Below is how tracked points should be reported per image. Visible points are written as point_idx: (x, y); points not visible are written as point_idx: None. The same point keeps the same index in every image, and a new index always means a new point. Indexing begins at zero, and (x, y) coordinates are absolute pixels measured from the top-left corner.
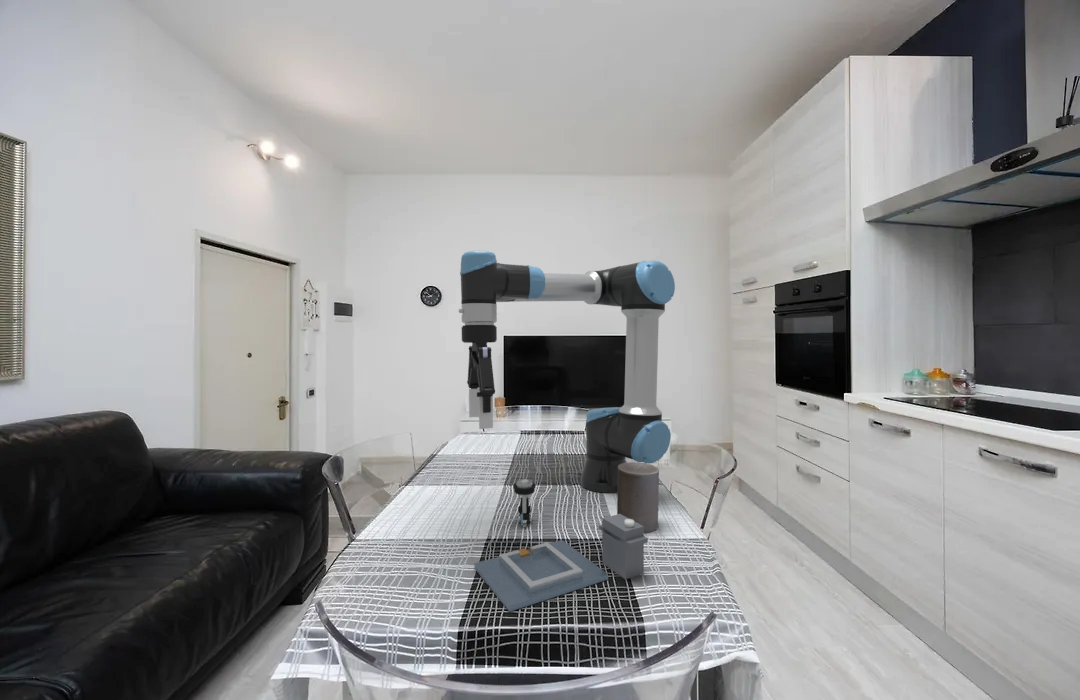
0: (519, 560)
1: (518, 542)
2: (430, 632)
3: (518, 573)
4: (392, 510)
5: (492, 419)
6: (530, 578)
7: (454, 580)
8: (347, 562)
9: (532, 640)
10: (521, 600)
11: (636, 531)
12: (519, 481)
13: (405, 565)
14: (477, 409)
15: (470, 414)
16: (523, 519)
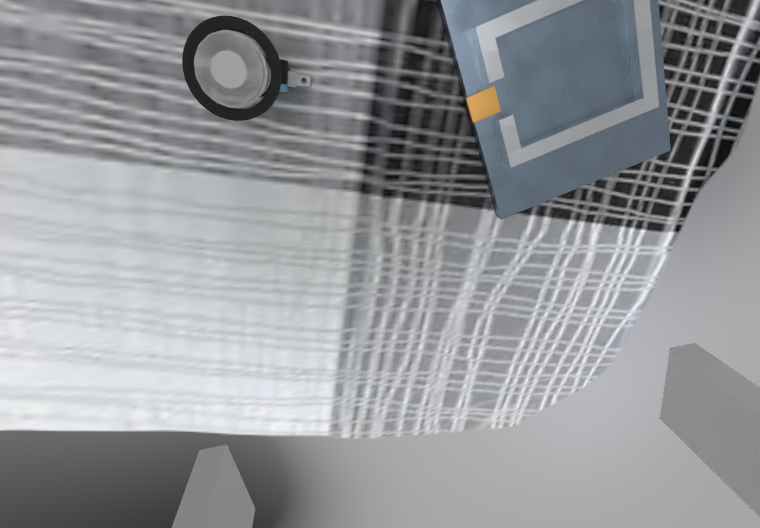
0: (515, 116)
1: (392, 108)
2: (659, 270)
3: (602, 126)
4: (173, 423)
5: (749, 384)
6: (597, 98)
7: (530, 250)
8: (422, 429)
9: (745, 114)
10: (663, 125)
11: None
12: (231, 93)
13: (453, 341)
14: (222, 526)
15: (248, 526)
16: (287, 82)
